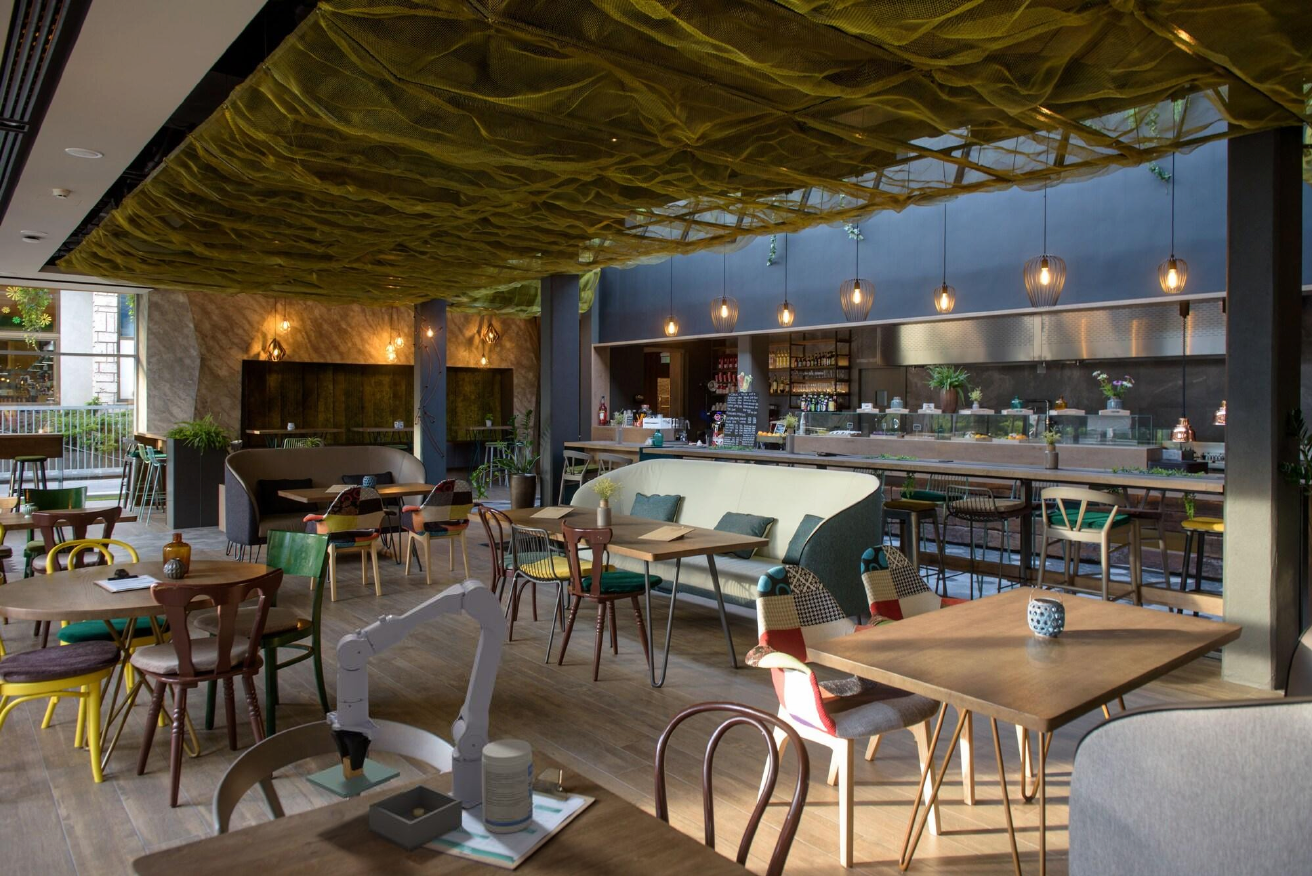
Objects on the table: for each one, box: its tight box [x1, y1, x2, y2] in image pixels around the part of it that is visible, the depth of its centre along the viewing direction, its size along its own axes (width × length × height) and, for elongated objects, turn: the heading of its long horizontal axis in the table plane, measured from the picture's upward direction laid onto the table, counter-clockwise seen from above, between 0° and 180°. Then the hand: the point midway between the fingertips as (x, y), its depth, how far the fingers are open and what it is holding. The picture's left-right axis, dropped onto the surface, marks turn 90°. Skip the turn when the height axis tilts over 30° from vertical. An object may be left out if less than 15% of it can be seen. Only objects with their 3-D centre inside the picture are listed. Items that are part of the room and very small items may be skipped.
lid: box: [305, 755, 401, 799], centre depth 168 cm, size 12×12×5 cm
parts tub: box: [368, 783, 463, 853], centre depth 163 cm, size 12×12×5 cm
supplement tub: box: [481, 738, 534, 834], centre depth 165 cm, size 10×10×15 cm
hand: (352, 767), depth 167 cm, fingers closed on lid, 2 cm apart
